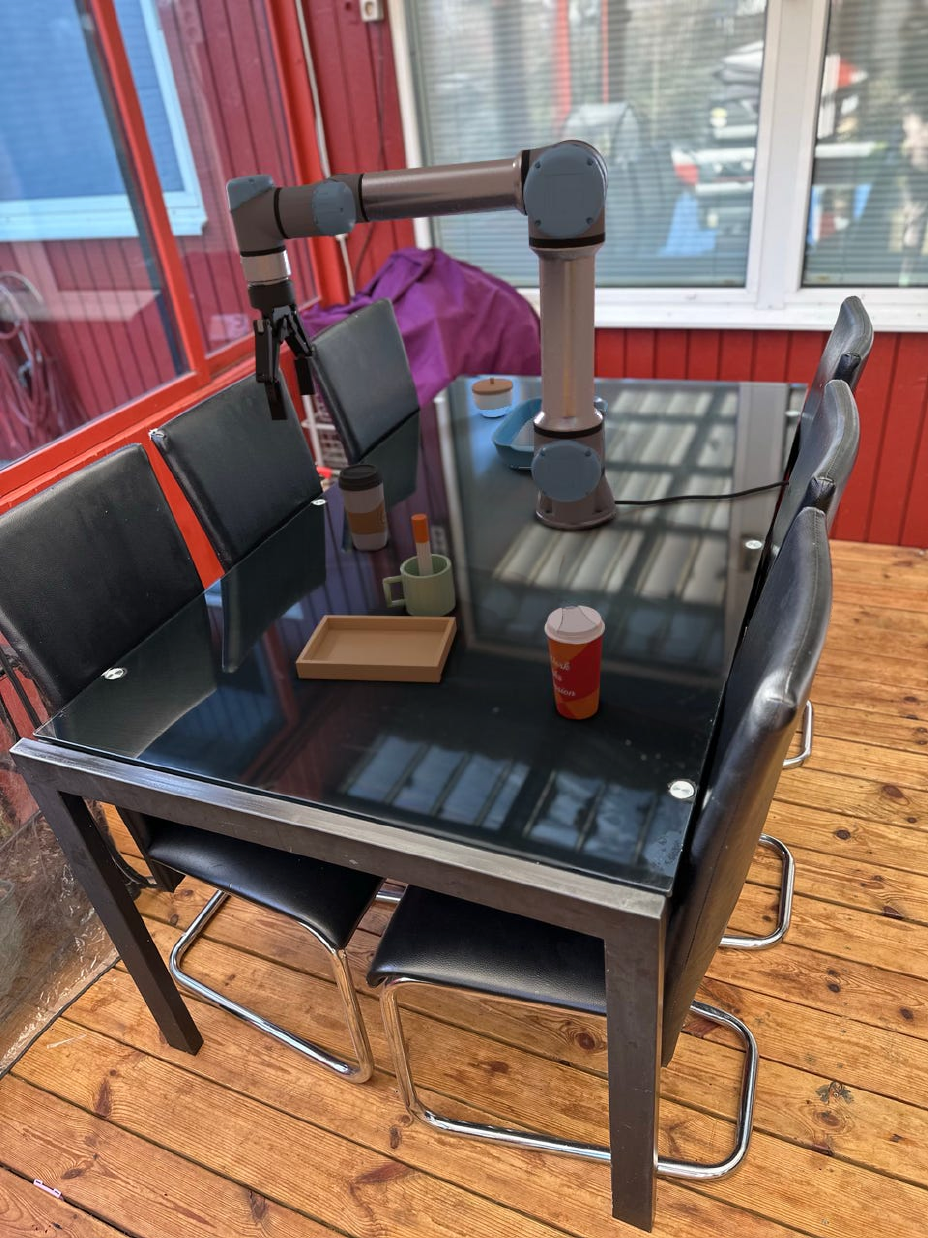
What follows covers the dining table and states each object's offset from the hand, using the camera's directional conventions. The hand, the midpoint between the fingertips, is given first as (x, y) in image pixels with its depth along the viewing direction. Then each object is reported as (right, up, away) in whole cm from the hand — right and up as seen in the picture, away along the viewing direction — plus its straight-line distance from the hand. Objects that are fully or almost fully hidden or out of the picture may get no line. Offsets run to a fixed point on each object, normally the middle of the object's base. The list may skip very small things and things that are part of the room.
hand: (294, 406), depth 156 cm
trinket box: (+38, +16, +73) cm, 84 cm away
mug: (+23, -36, -10) cm, 44 cm away
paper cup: (+45, -50, -36) cm, 76 cm away
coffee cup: (+12, -23, +13) cm, 30 cm away
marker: (+24, -35, -10) cm, 44 cm away
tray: (+17, -43, -21) cm, 51 cm away
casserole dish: (+50, +2, +48) cm, 70 cm away
